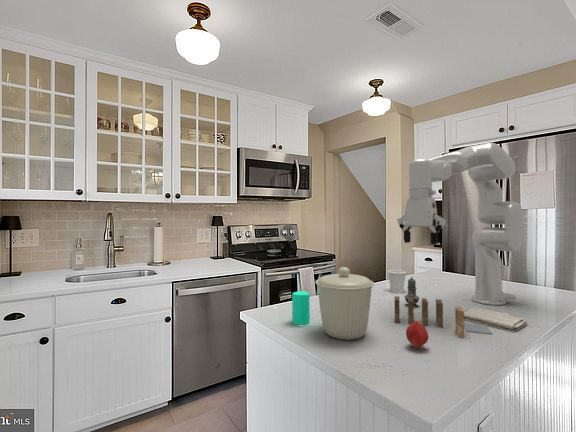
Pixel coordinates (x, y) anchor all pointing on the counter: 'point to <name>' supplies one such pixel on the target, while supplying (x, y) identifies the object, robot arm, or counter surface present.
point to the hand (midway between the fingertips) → (420, 243)
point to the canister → (344, 304)
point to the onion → (417, 334)
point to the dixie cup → (397, 280)
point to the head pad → (477, 328)
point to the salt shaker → (412, 292)
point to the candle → (300, 308)
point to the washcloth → (494, 319)
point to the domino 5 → (459, 321)
